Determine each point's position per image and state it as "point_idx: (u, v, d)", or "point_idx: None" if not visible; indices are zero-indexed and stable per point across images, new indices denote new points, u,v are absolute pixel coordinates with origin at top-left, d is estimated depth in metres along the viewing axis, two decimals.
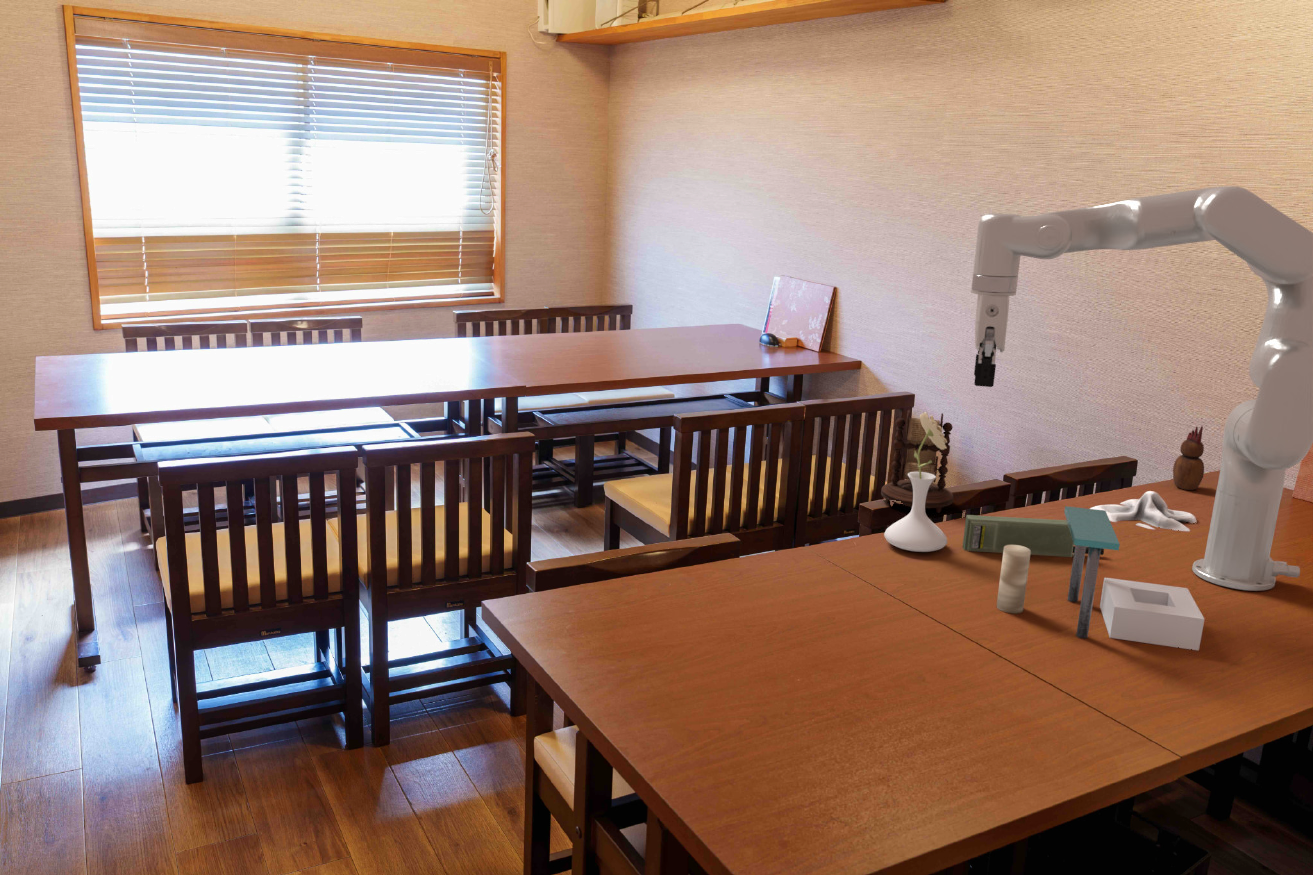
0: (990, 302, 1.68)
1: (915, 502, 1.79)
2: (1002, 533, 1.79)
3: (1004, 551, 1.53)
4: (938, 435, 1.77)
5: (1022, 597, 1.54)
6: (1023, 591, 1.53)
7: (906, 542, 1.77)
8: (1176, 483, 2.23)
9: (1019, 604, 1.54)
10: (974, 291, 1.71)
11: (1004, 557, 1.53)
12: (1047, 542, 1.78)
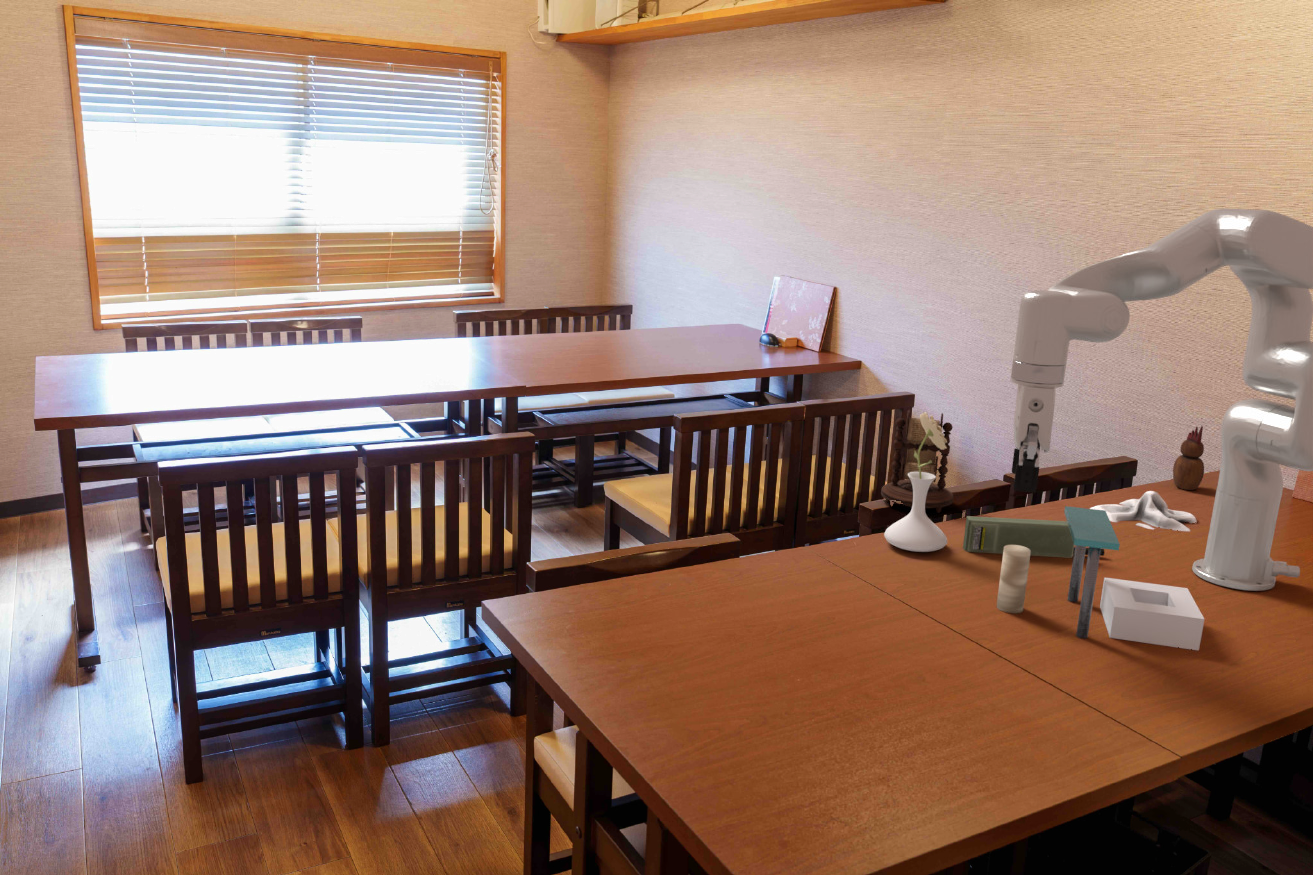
0: (1034, 395, 1.44)
1: (915, 502, 1.79)
2: (1003, 534, 1.78)
3: (1004, 551, 1.53)
4: (938, 435, 1.77)
5: (1022, 597, 1.54)
6: (1023, 591, 1.53)
7: (906, 542, 1.77)
8: (1176, 483, 2.23)
9: (1019, 604, 1.54)
10: (1014, 380, 1.46)
11: (1004, 557, 1.53)
12: (1048, 543, 1.78)
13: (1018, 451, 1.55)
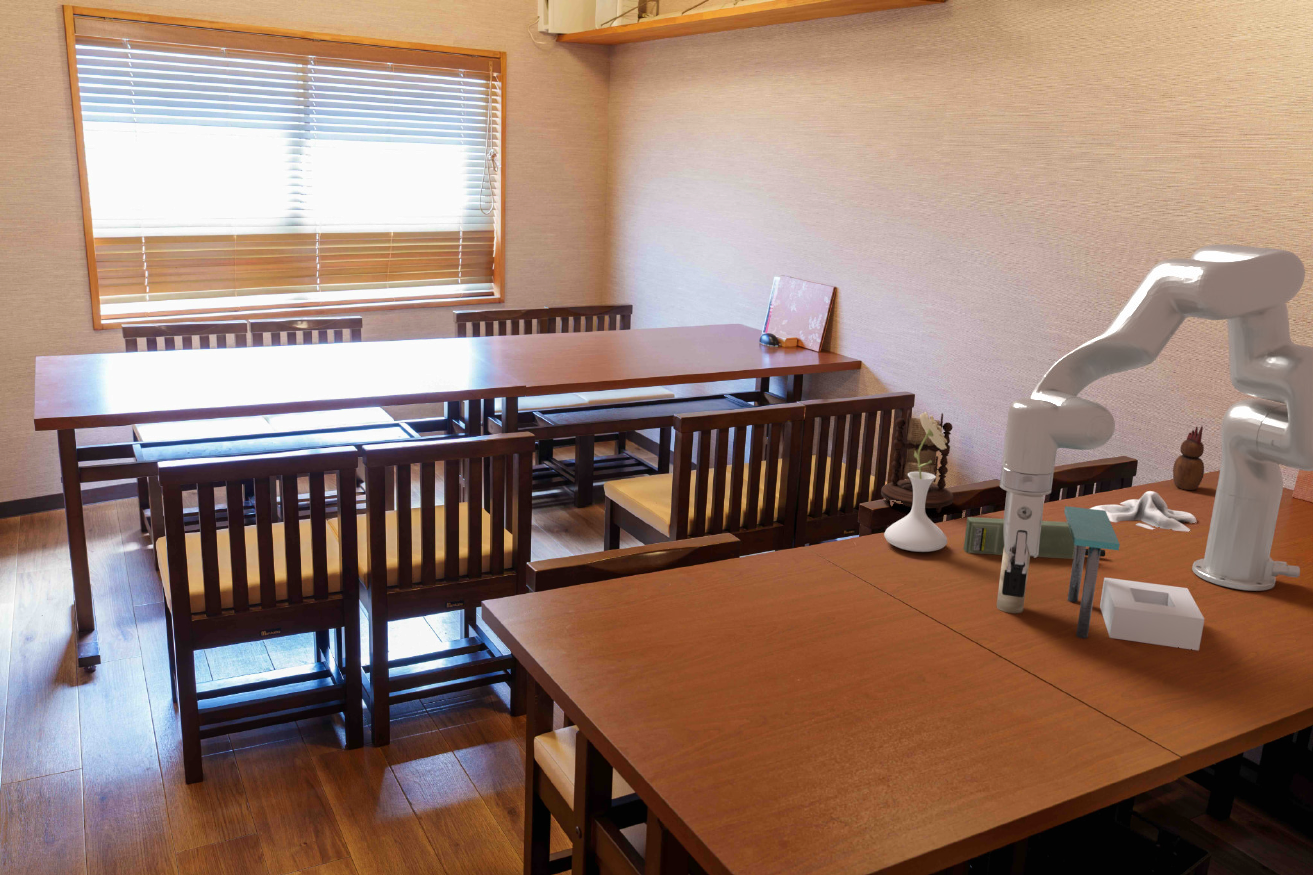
0: (1022, 503, 1.47)
1: (915, 502, 1.79)
2: None
3: (1004, 551, 1.53)
4: (938, 435, 1.77)
5: (1022, 597, 1.54)
6: None
7: (906, 542, 1.77)
8: (1176, 483, 2.23)
9: (1019, 604, 1.54)
10: (1003, 486, 1.50)
11: (1004, 557, 1.53)
12: (1049, 544, 1.78)
13: None
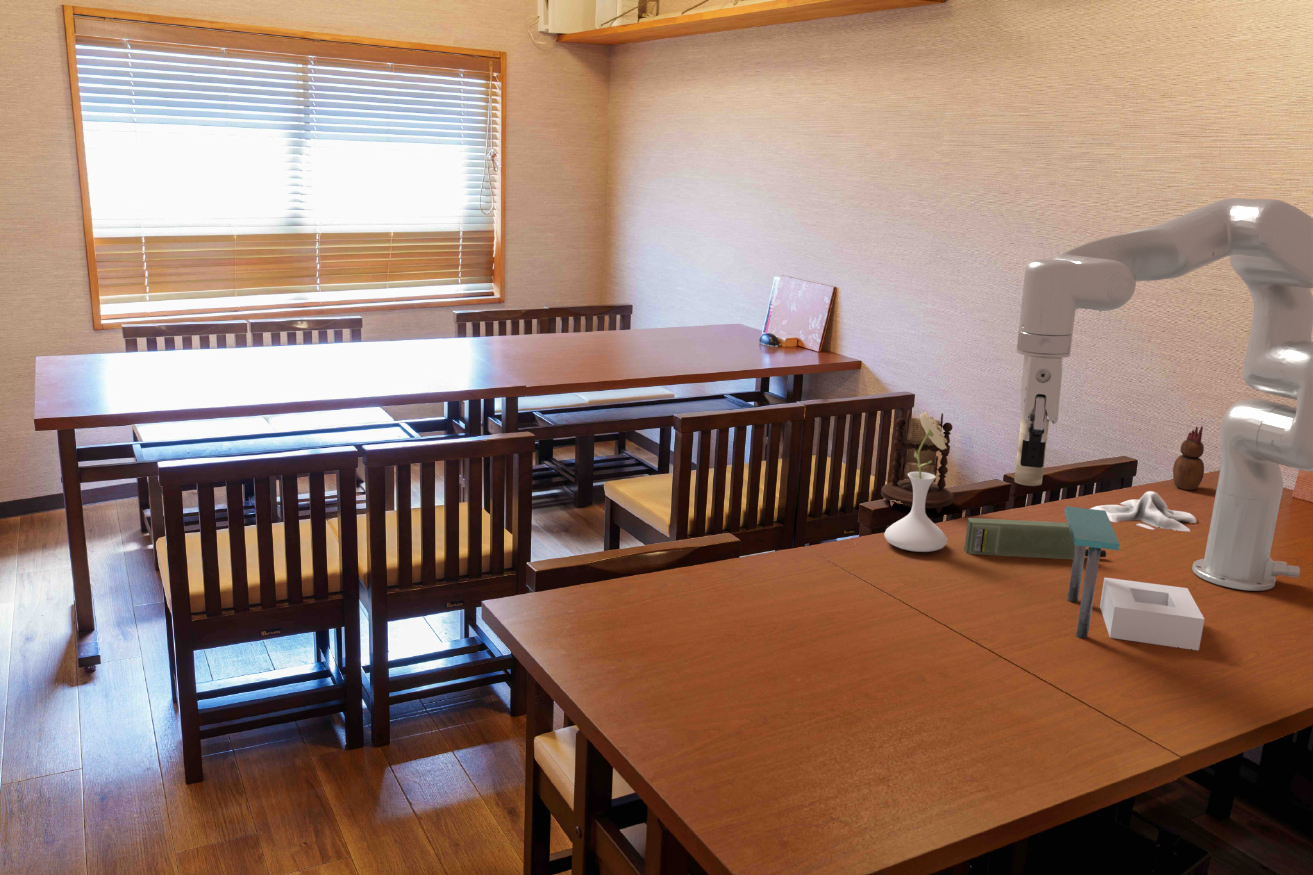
0: (1041, 365, 1.42)
1: (915, 502, 1.79)
2: (1004, 536, 1.77)
3: (1021, 421, 1.48)
4: (938, 435, 1.77)
5: (1041, 469, 1.48)
6: None
7: (906, 542, 1.77)
8: (1176, 483, 2.23)
9: (1038, 476, 1.48)
10: (1020, 351, 1.45)
11: (1022, 427, 1.48)
12: (1049, 545, 1.77)
13: None
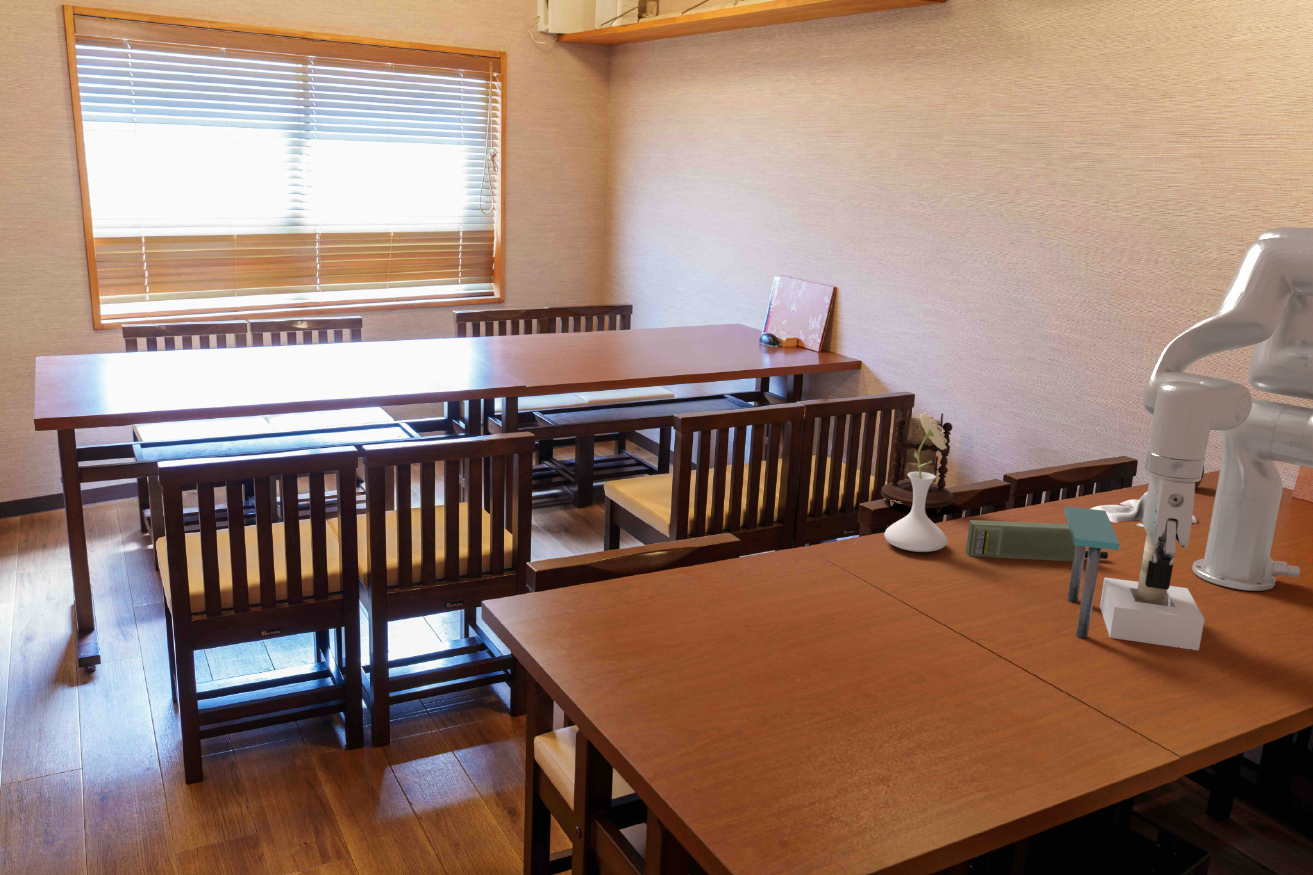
0: (1173, 490, 1.40)
1: (915, 502, 1.79)
2: (1006, 538, 1.76)
3: (1147, 541, 1.46)
4: (938, 435, 1.77)
5: (1165, 589, 1.47)
6: None
7: (906, 542, 1.77)
8: None
9: (1162, 596, 1.47)
10: (1151, 473, 1.43)
11: (1147, 547, 1.46)
12: (1051, 547, 1.76)
13: None
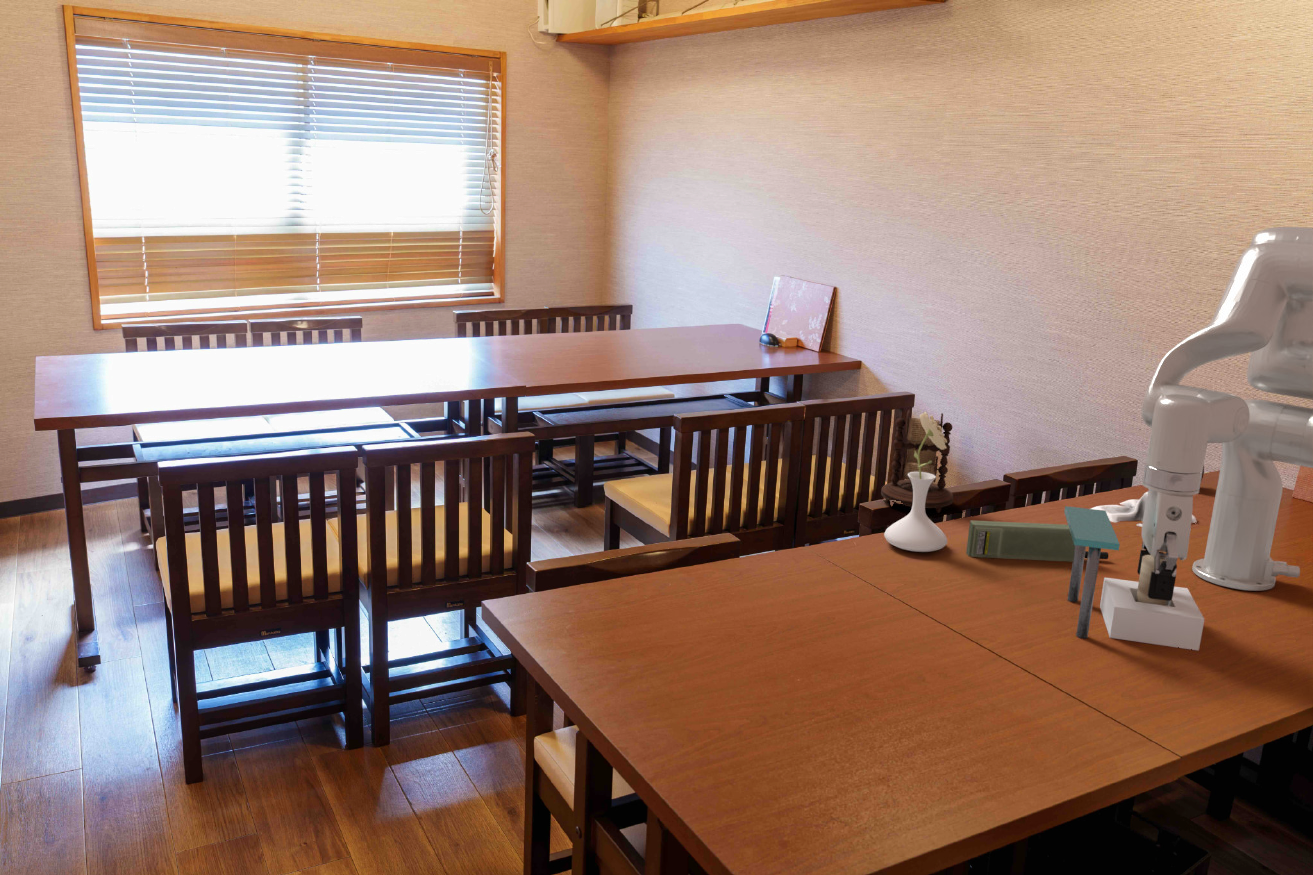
0: (1171, 503, 1.41)
1: (915, 502, 1.79)
2: (1007, 538, 1.76)
3: (1143, 561, 1.48)
4: (938, 435, 1.77)
5: None
6: (1164, 603, 1.48)
7: (906, 542, 1.77)
8: None
9: None
10: (1149, 486, 1.44)
11: (1143, 568, 1.48)
12: (1052, 547, 1.76)
13: (1145, 553, 1.52)
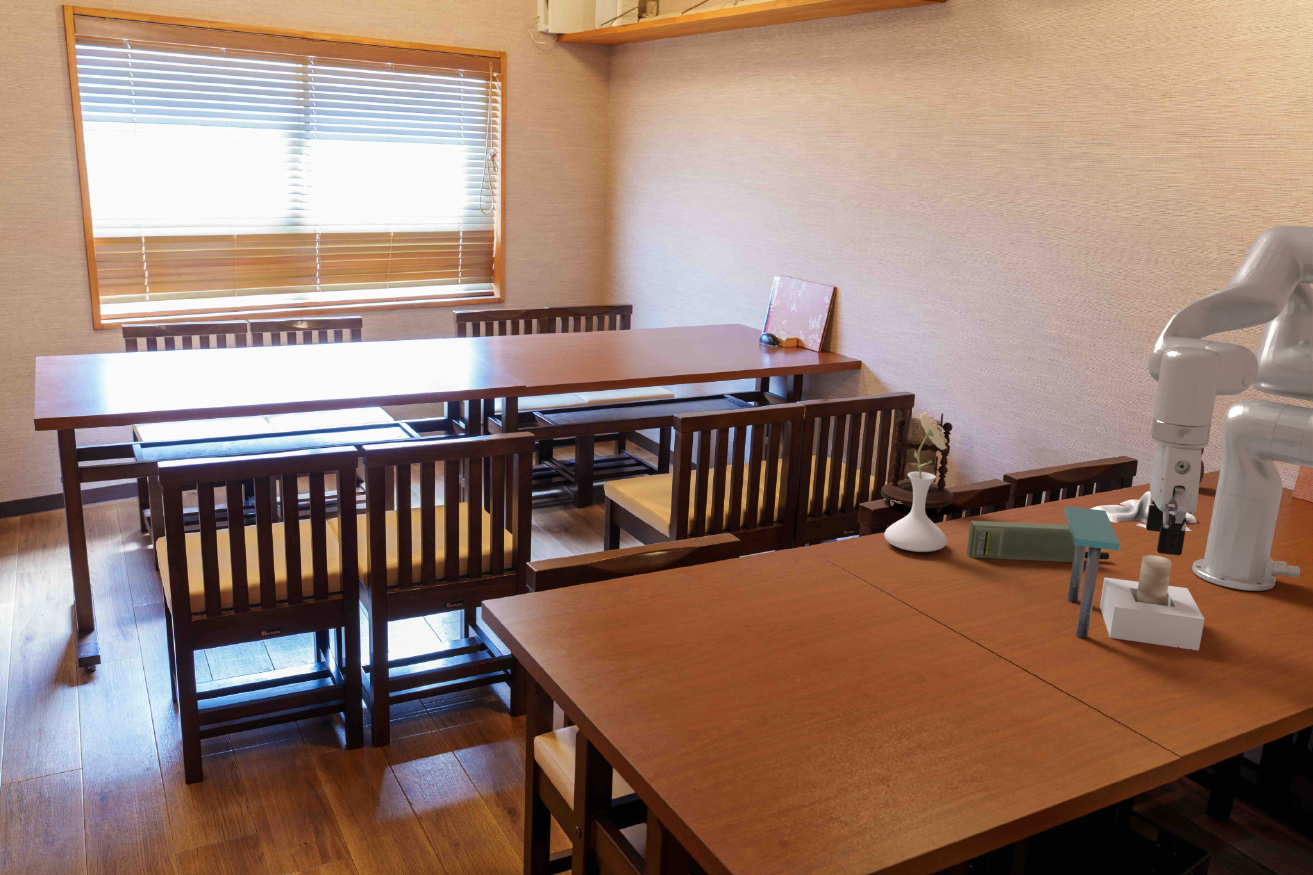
0: (1180, 457, 1.39)
1: (915, 502, 1.79)
2: (1007, 539, 1.76)
3: (1143, 562, 1.48)
4: (938, 435, 1.77)
5: None
6: (1164, 603, 1.48)
7: (906, 542, 1.77)
8: None
9: None
10: (1156, 440, 1.42)
11: (1143, 568, 1.47)
12: (1053, 548, 1.76)
13: (1154, 508, 1.50)
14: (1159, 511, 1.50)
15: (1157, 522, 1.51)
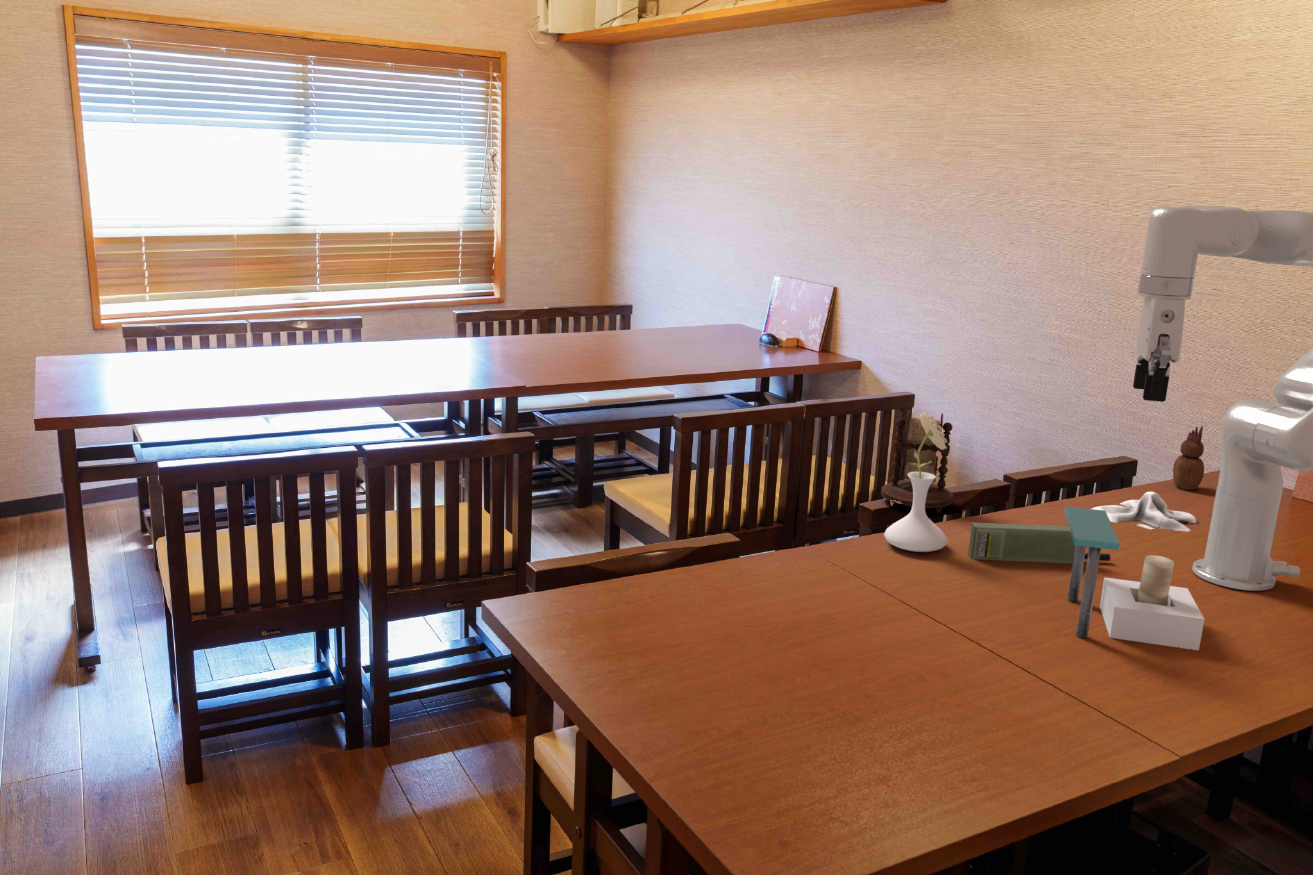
0: (1165, 306, 1.49)
1: (915, 502, 1.79)
2: (1009, 540, 1.75)
3: (1146, 562, 1.47)
4: (938, 435, 1.77)
5: None
6: (1165, 604, 1.48)
7: (906, 542, 1.77)
8: (1176, 483, 2.23)
9: None
10: (1143, 294, 1.52)
11: (1146, 568, 1.47)
12: (1054, 549, 1.75)
13: (1140, 366, 1.61)
14: (1145, 369, 1.61)
15: (1143, 380, 1.61)
